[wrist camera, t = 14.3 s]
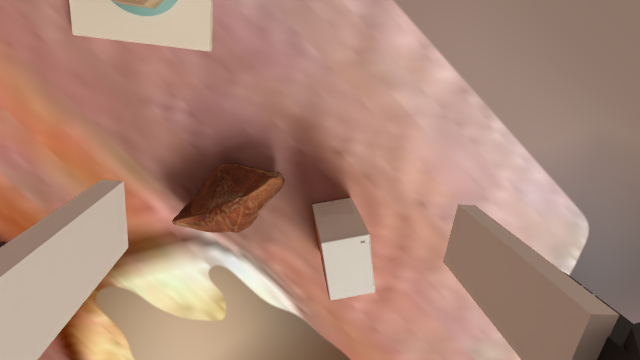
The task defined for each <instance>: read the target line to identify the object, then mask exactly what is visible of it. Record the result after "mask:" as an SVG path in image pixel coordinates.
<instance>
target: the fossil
mask: <svg viewBox="0 0 640 360" xmlns="http://www.w3.org/2000/svg"><path fill="white" fill-rule="evenodd" d="M283 184H284V178H283V177H282V174H281V173H280V172H270V173H269V172H266V171H263V170H259V169H253V168H248V167H245V166H241V165H236V164H222V165H220V166H219V167H217V168H216V169H215V170H214V171H213V173H212V174H211V175H210V176H209V177H208V178H207V180H206V181H205V183H204V184H203V186H202V188H201V190H200V191H199V192H198V193H197V194H196V195H195V196H194V197H193V198H192V199H191V200H190V201H189V203H188V204H187V205H186V206H185V207H184V208H183V209H182V210H181V211H180V213H179V214H178V215H177V216H176V217H175V218H174V219H173V221H172V222H173V223H174V224H175V225H179V226H182V227H189V228H193V229H197V230H201V231H206V232H229V231H231V232H240V231H242V230H244V229H246V228H248V227H249V226H250V225H251V224H252V223H253V221H254V220H255V219H256V218H257V216H258V214H259V213H260V212H261V211H262V209H263V208H264V207H265V205H266V204H267V203H268V201H269V200H270V199H272V198H273V197H274V196H275V195H276V194H277V193H278V192H279V190H280V189H281V188H282V186H283Z"/></svg>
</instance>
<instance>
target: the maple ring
mask: <svg viewBox="0 0 640 360" xmlns="http://www.w3.org/2000/svg"><path fill="white" fill-rule="evenodd" d="M112 1H115V2H118V3H120V4H123V5H128V6H135V7H143V8H150V9H156V8H157V7H158V6H159V5H160V4H161V3H162V2H163V1H164V0H112Z"/></svg>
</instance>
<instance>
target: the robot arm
mask: <svg viewBox="0 0 640 360" xmlns="http://www.w3.org/2000/svg"><path fill="white" fill-rule="evenodd" d="M127 248H128V237H127V222H126V208H125V193H124V181H112V180H100V181H99V182H97V183H96V184H94V185H93V186H91V187H90V188H88V189H87V190H85V191H84V192H82V193H81V194H79V195H78V196H76V197H75V198H73V199H72V200H70V201H69V202H67V203H66V204H64V205H63V206H61V207H60V208H58V209H57V210H55V211H54V212H52V213H51V214H50V215H48V216H47V217H45V218H44V219H42V220H41V221H39V222H38V223H36V224H35V225H33V226H32V227H30V228H29V229H27V230H26V231H24V232H23V233H21V234H20V235H18V236H17V237H15V238H14V239H12V240H11V241H9V242H2V243H0V360H37V359H38V358H39V357H40V356H41V354H42V353H43V352H44V351H45V350H46V348H47V347H48V346H49V345H50V343H51V342H52V341H53V340H54V338H55V337H56V336H57V335H58V334H59V332H60V331H61V330H62V329H63V327H64V326H65V325H66V324H67V322H68V321H69V320H70V319H71V317H72V316H73V315H74V314H75V313H76V311H77V310H78V309H79V308H80V306H81V305H82V304H83V303H84V301H85V300H86V299H87V298H88V297H89V295H90V294H91V293H92V292H93V290H94V289H95V288H96V287H97V285H98V284H99V283H100V282H101V280H102V279H103V278H104V277H105V276H106V274H107V273H108V272H109V271H110V269H111V268H112V267H113V266H114V264H115V263H116V262H117V261H118V260H119V258H120V257H121V256H122V255H123V253H124V252H125V251H126V250H127ZM443 262H444V263H445V264H446V266H447V267H448V268H449V269H450V271H451V272H452V273H453V274H454V276H455V277H456V278H457V279H458V281H459V282H460V283H461V284H462V286H463V287H464V288H465V289H466V291H467V292H468V293H469V294H470V296H471V297H472V298H473V299H474V301H475V302H476V303H477V304H478V306H479V307H480V308H481V309H482V311H483V312H484V313H485V315H486V316H487V317H488V318H489V320H490V321H491V322H492V323H493V325H494V326H495V327H496V328H497V330H498V331H499V332H500V333H501V335H502V336H503V337H504V338H505V340H506V341H507V342H508V343H509V345H510V346H511V347H512V348H513V350H514V351H515V352H516V353H517V355H518V356H519V357H520V358H521V360H640V323H636V324H633V323H631V322H630V321H629V320H627V319H626V318H625V317H624V316H622V315H621V314H620V313H618V312H617V311H615V310H614V309H613V308H611V307H610V306H609V305H608V304H606V303H605V302H604V301H602V300H601V299H600V298H598V297H597V296H594V295H593V293H592V292H590V291H589V290H588V289H586V288H585V287H582V285H581V284H580V283H578V282H577V281H576V280H574V279H573V278H572V277H570V276H569V275H568V274H566V273H564V272H562V271H561V270H560V269H558V268H557V267H556V266H554V265H553V264H552V263H550V262H549V261H548V260H546V259H545V258H544V257H542V256H541V255H540V254H539V253H537V252H536V251H535V250H533V249H532V248H531V247H529V246H528V245H527V244H525V243H524V242H523V241H521V240H520V239H519V238H517V237H516V236H515V235H513V234H512V233H511V232H510V231H508V230H507V229H506V228H504V227H503V226H502V225H500V224H499V223H498V222H496V221H495V220H494V219H492V218H491V217H490V216H488V215H487V214H486V213H484V212H483V211H482V210H480V209H479V208H478V207H477V206H475V205H460V204H458V207H457V211H456V215H455V219H454V223H453V227H452V230H451V234H450V238H449V242H448V246H447V250H446V253H445V257H444V261H443Z"/></svg>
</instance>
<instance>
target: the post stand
mask: <svg viewBox="0 0 640 360" xmlns="http://www.w3.org/2000/svg"><path fill="white" fill-rule="evenodd" d="M69 3H70V12H71V22H72V32H73V35H79V36H87V37H95V38H104V39H112V40H120V41H129V42H137V43H145V44H154V45H162V46H170V47H178V48H187V49H195V50H203V51H212V32H213V0H164V1H163V2H162V3H161V4H160V5H159V6H158V7H157V8H156V9H150V8H143V7H135V6H128V5H123V4H120V3H118V2H115V1H112V0H69Z"/></svg>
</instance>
